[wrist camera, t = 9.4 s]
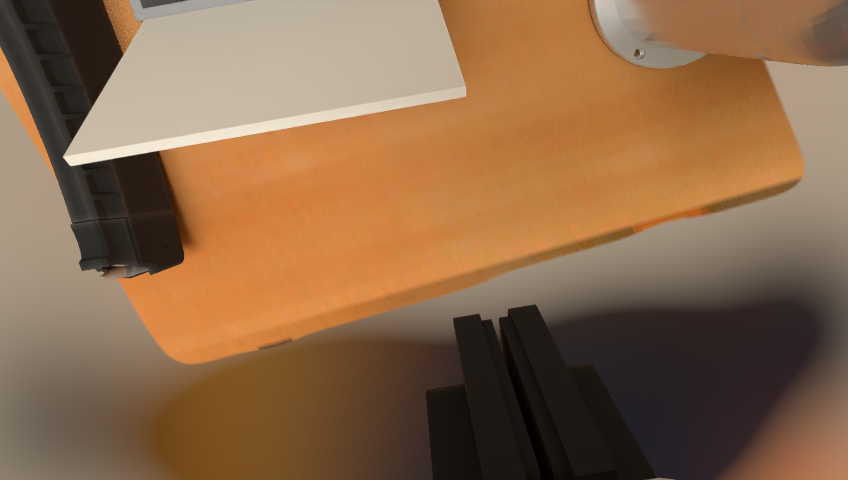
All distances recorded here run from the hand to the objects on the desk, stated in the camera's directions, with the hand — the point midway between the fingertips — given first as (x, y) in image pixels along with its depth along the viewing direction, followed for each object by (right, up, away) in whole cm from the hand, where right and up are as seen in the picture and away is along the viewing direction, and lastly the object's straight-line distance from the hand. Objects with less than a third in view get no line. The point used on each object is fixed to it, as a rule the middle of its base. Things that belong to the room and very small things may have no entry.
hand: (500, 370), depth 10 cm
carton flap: (-9, +12, +15) cm, 21 cm away
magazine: (-26, +16, +28) cm, 41 cm away
